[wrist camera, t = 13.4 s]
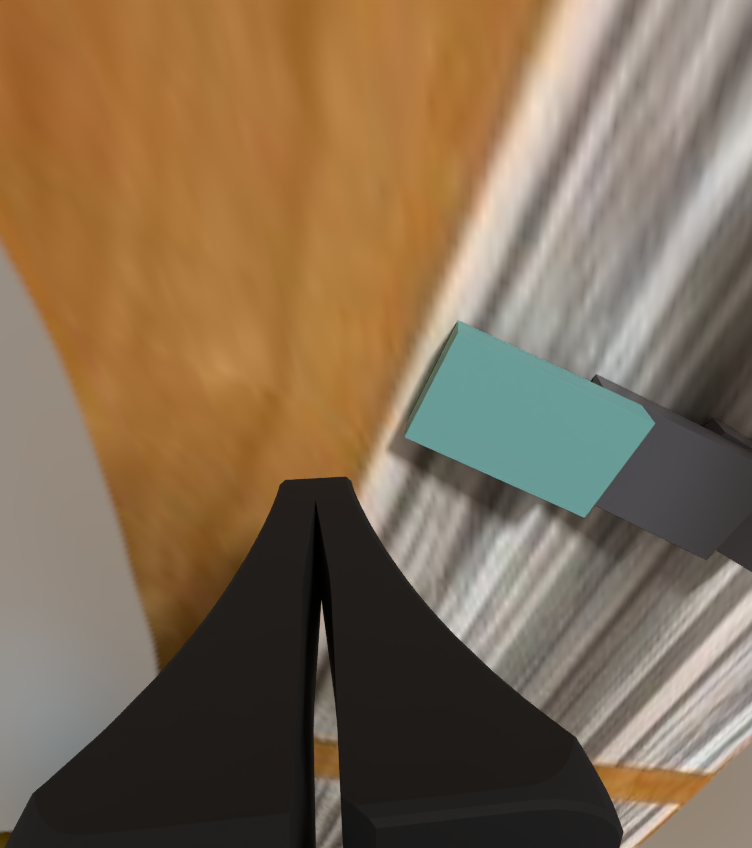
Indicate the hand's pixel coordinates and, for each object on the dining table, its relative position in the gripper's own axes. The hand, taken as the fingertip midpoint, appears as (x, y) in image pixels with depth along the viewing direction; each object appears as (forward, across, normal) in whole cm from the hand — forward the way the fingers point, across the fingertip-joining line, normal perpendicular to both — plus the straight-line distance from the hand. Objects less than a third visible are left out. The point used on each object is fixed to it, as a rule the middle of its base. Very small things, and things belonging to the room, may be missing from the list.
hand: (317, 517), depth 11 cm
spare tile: (+9, -4, +2) cm, 10 cm away
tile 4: (+9, -10, +4) cm, 14 cm away
